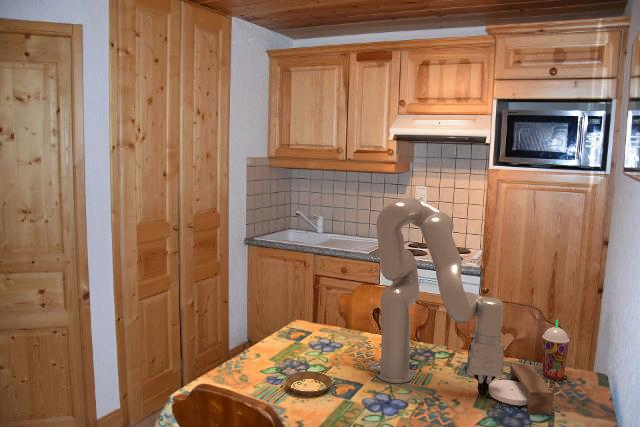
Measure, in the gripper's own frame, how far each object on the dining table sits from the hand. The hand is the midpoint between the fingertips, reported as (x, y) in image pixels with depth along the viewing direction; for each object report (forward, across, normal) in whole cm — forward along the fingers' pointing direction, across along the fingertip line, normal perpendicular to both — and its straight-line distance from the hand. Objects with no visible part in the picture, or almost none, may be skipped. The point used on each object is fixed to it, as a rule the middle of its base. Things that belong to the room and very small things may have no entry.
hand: (482, 393), depth 164 cm
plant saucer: (+3, -54, -1) cm, 55 cm away
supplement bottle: (+1, +2, +19) cm, 19 cm away
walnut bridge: (0, +13, 0) cm, 13 cm away
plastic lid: (+1, +9, 0) cm, 9 cm away
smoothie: (0, +27, +17) cm, 32 cm away
